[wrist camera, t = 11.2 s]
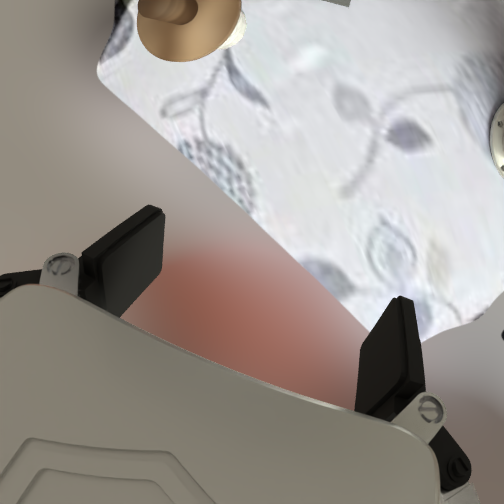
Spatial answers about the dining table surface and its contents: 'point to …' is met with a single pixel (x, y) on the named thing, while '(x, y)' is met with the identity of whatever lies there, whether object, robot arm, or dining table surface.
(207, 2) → the lid
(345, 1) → the mat
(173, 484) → the robot arm
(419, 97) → the dining table surface
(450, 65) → the dining table surface
